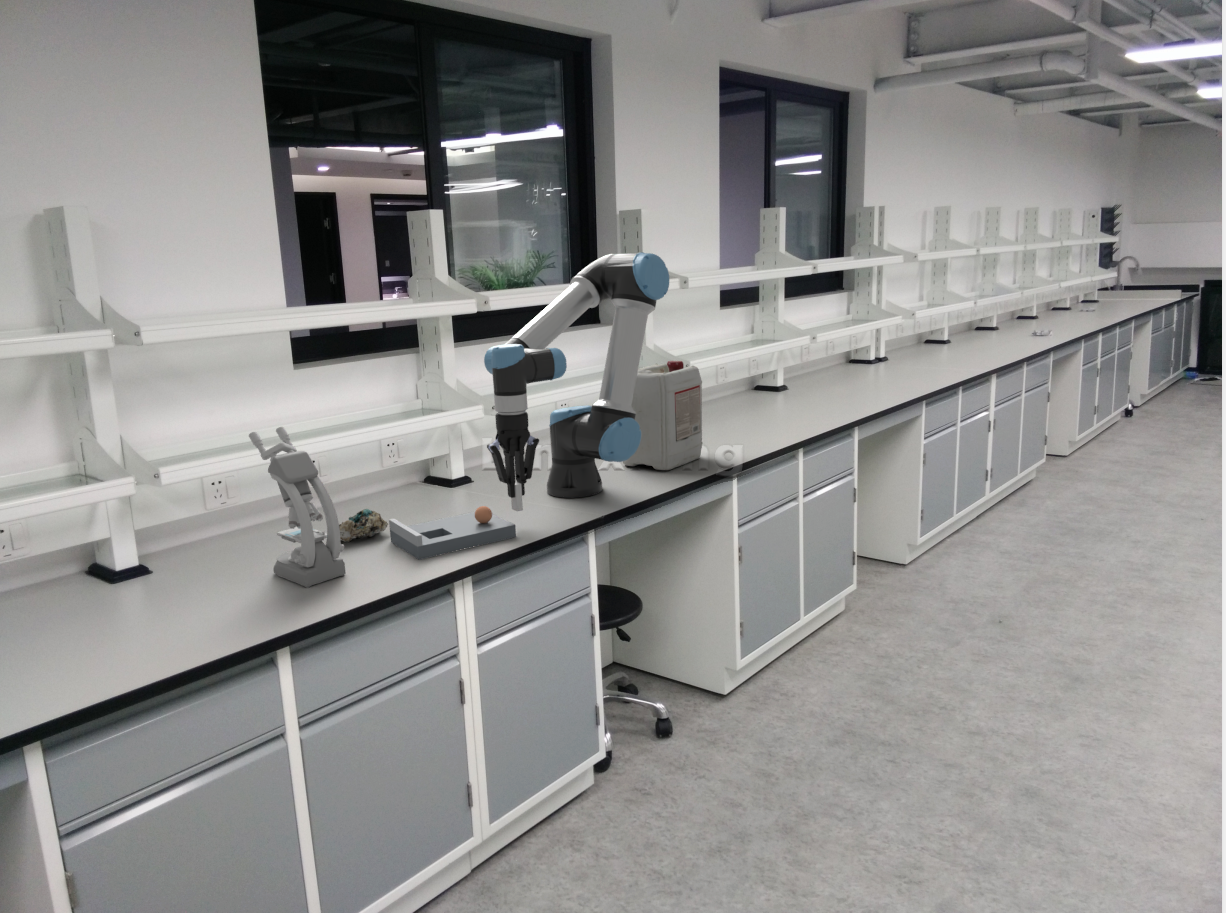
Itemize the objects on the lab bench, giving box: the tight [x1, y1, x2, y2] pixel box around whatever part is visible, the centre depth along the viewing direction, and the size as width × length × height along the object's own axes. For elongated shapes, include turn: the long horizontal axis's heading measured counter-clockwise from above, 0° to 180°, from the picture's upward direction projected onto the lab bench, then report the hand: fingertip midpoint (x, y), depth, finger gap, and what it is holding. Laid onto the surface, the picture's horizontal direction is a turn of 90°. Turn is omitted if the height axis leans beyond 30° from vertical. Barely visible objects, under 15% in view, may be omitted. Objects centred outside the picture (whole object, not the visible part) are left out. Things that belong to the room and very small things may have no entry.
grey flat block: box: [388, 511, 517, 561], centre depth 207 cm, size 24×16×5 cm, turn 125°
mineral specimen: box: [339, 508, 389, 543], centre depth 210 cm, size 12×9×8 cm
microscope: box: [248, 426, 346, 588], centre depth 185 cm, size 11×19×30 cm, turn 49°
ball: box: [474, 505, 493, 523], centre depth 209 cm, size 4×4×4 cm
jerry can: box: [622, 360, 703, 471], centre depth 271 cm, size 24×19×30 cm
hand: (517, 509), depth 214 cm, fingers closed
